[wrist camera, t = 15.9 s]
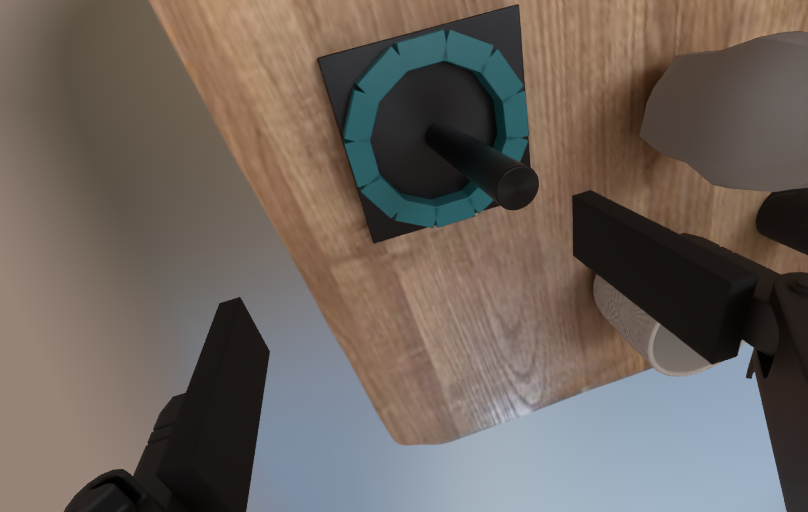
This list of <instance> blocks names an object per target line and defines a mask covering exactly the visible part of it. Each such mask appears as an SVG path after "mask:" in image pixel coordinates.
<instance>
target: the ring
mask: <svg viewBox="0 0 808 512" xmlns="http://www.w3.org/2000/svg"><path fill="white" fill-rule="evenodd" d="M392 46H393V47H392ZM392 46H391V47H386V48H385V50H384V51H383V52H382V53H381V54H380V55H379V56H378V57H377V59H376V60H375V61H374V62H373V63H372V64H371V65H370V66H369V68H368V69H367V70H366V71H365V72H364V73H363V74H362V75H361V77H360V78H359V79H358V80H357V81H356V82H355V84H356V85H357V86H358V87H359V88H360V89H361V90H362V91H361V90H357V89H354V88H353V89H352V92H351V97H350V102H349V106H348V111H347V116H346V121H345V125H344V130H343V136H344V139H343V142H344V145H345V148H346V151H347V155H348V158H349V161H350V164H351V167H352V170H353V174H354V177H355V180H356V183H357V186H358V187H360V190H361V192H362V193H363V194H364V195H365V196H366V197H367V198H368V199H370V200H371V201H372V202H373V203H374V204H375V205H376V206H377V207H378V208H380V209H381V210H382V211H383V212H384V213H385V214H386V215H387V216H389V217H390V218H392V217H394V219H395V221H400V222H405V223H410V224H415V225H420V226H425V227H430V228H433V227H434V224H436V226H437V227H442V226H445V225H448V224H451V223H454V222H458V221H461V220H464V219H467V218H470V217H474V216H475V211H474V209H475V210H476V211H477V212H478V213H481V212H482V211H483V210H484V209H485V208H486V207H487V206H488V205H489V204H490V203H491V202H492V201H493V199H492V198H491V197H489V196H488V195H487V194H486V193H485V192H483V191H482V190H481V189H480V188H479V187H477V186H476V185H475V184H474V183H472V182H471V181H470V182H469V183H468V184H467V185H466V186H465V187H464V188H463V189H462V190H461V191H458V192H454V193H451V194H448V195H445V196H441V197H438V198H435V199H432V200H430V199H426V198H421V197H417V196H412V195H407V194H403V193H400V192H399V191H398V190H397V189H396V188H395V187H394V186H393V185H392V184H391V183H390V182H389V181H388V180H386V179H385V178H384V177H383V176H382V175H381V174H380V173H379V171H378V167H377V163H376V160H375V156H374V153H373V149H372V146H371V142H370V139H371V135H372V131H373V127H374V123H375V118H376V114H377V110H378V106H379V102H380V101H381V100H382V99H383V98H384V96H385V95H386V94H387V93H388V92H389V91H390V90H391V89H392V88H393V87H394V86H395V84H396V83H397V82H398V81H399V80H400V79H401V78H402V77H403V76H404V75H405V74H406V72H408V71H411V70H415V69H418V68H422V67H425V66H429V65H432V64H436V63H439V62H444V63H447V64H450V65H453V66H456V67H459V68H462V69H465V70H468V71H471V72H473V74H474V75H475V76H476V78H477V79H478V80H479V81H480V83H481V84H482V85H483V87H484V88H485V89H486V91H487V92H488V93H489V95H490V96H491V97H492V99H493V101H494V110H495V118H496V126H497V137H496V139H495V142H494V145H493V148H494V149H496V150H498V151H500V152H502V153H503V154H505V155H507V156H509V157H511V158H513V159H515V160H517V161H518V162H520V160H521V158H522V155H523V153H524V150H525V148H526V145H527V143H528V140H526V139H523V138H522V137H525V136H528V135H529V129H528V117H527V104H526V92H525V91H522V90H520V89H521V88H522V87H523V84H522V83H521V81H520V80H519V78H518V77H517V76H516V74H515V73H514V71H513V70H512V68H511V67H510V66H509V64H508V63H507V61H506V60H505V58H504V57H503V56H502V54H501V53H500V51H499V50H498V49H493V45H491V44H488V43H486V42H483V41H480V40H477V39H475V38H472V37H469V36H466V35H464V34H461V33H458V32H455V31H453V30H446V31H444V30H439V31H434V32H431V33H427V34H424V35H420V36H417V37H413V38H410V39H406V40H403V41H399V42H395V43H393V44H392Z"/></svg>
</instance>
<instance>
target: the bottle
mask: <svg viewBox="0 0 808 512" xmlns="http://www.w3.org/2000/svg"><path fill="white" fill-rule="evenodd" d="M639 136H640V137H641V138H642V139H643V140H644V141H646V142H647V143H648V144H649V145H650V146H651V147H653V148H654V149H655V150H656V151H657V152H659V153H661V154H664V155H667V156H669V157H672V158H675V159H677V160H680V161H683V162H685V163H687V164H688V165H690V166H691V167H692V168H693V169H694V170H696V171H697V172H698V173H699V174H700V175H702V176H703V177H704V178H705V179H706V180H708V181H709V182H710V183H711V184H712V185H716V186H721V187H725V188H731V189H744V190H756V191H768V192H778V191H784V190H790V189H799V188H808V32H803V31H793V32H783V33H776V34H772V35H767V36H763V37H758V38H755V39H752V40H750V41H747V42H744V43H741V44H738V45H735V46H733V47H730V48H727V49H724V50H718V51H707V52H698V53H690V54H684V55H678V56H676V57H675V58H674V60H673V61H672V63H671V64H670V66H669V67H668V68H667V70H666V71H665V73H664V74H663V76H662V77H661V78H660V80H659V81H658V82H657V84H656V85H655V86H654V88H653V90H652V92H651V95H650V97H649V99H648V101H647V103H646V109H645V114H644V119H643V123H642V127H641V130H640V134H639Z"/></svg>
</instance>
